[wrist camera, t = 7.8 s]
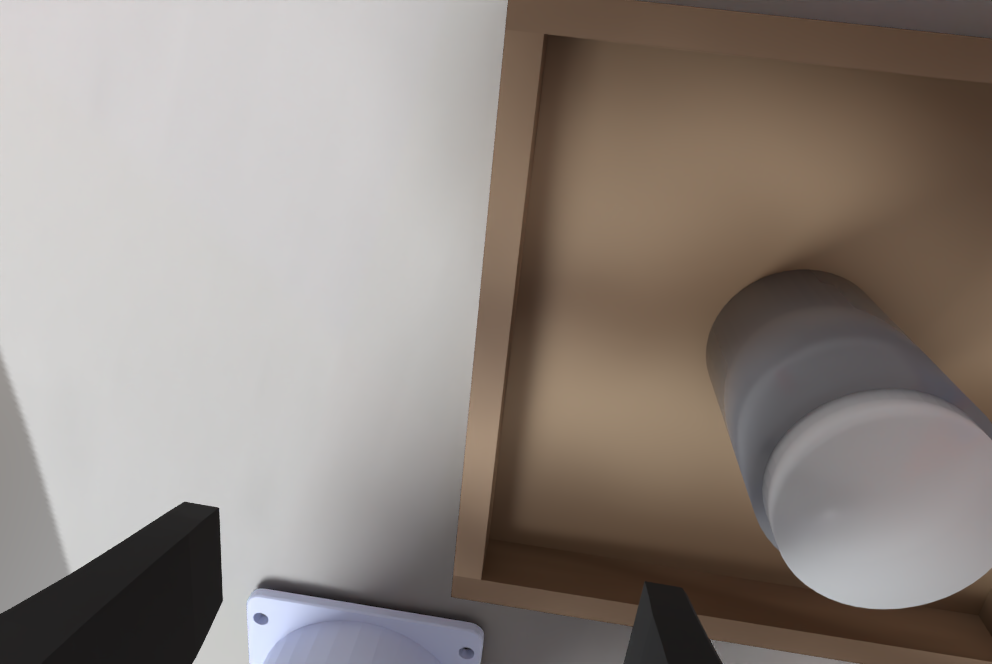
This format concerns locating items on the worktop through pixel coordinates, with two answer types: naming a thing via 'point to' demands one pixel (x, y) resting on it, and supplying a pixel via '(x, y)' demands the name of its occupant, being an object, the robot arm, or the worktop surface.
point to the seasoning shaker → (852, 443)
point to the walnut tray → (705, 298)
